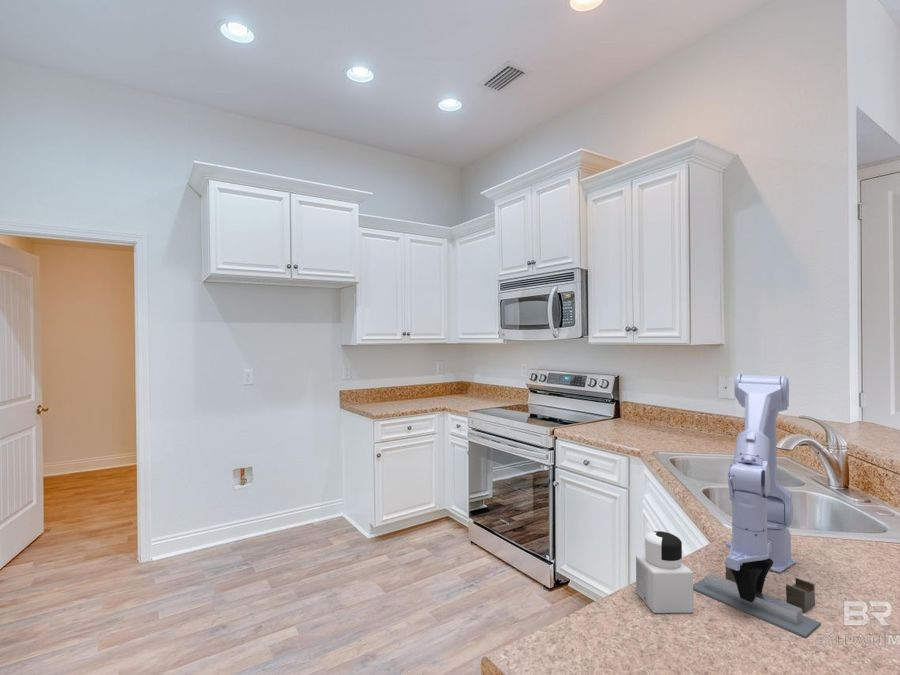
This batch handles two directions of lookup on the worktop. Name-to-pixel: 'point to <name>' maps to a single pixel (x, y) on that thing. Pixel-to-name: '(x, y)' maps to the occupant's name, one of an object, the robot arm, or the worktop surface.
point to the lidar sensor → (664, 575)
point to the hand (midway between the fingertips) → (750, 597)
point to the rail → (755, 599)
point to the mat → (761, 612)
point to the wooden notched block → (729, 575)
